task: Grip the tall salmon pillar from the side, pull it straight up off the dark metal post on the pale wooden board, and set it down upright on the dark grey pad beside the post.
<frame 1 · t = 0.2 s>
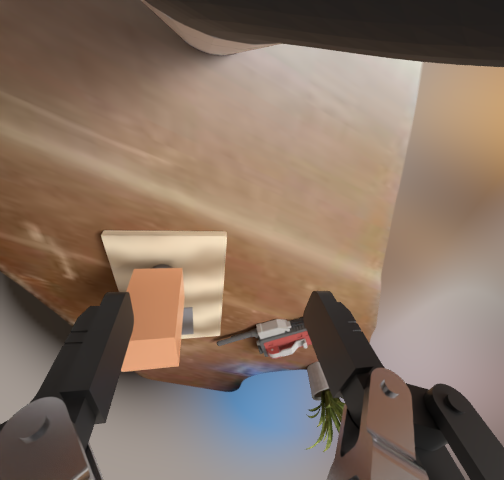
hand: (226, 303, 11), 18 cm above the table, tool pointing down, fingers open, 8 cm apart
walkie-talkie: (270, 330, 46), on the table
post stand: (174, 291, 35), on the table
house plant: (312, 367, 59), on the table
tall salmon pillar: (161, 284, 29), point 3 cm above the table, touching post stand
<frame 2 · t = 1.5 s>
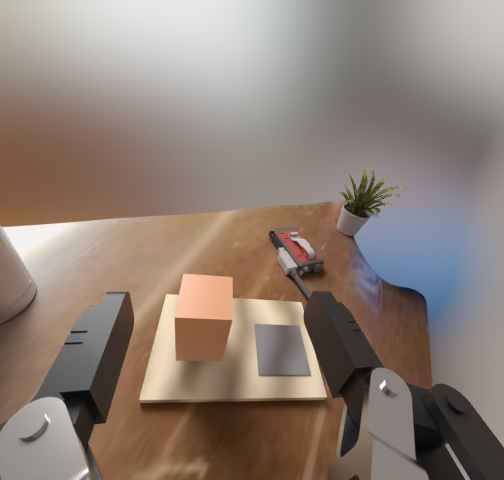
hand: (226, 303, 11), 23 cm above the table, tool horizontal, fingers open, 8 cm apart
walkie-talkie: (297, 266, 49), on the table
post stand: (237, 343, 33), on the table
house plant: (350, 233, 62), on the table
tall salmon pillar: (201, 338, 30), point 3 cm above the table, touching post stand
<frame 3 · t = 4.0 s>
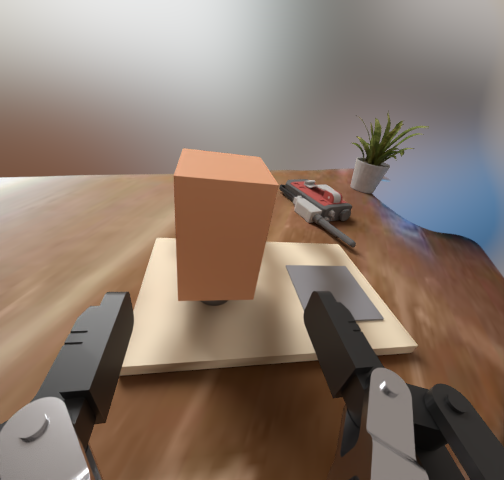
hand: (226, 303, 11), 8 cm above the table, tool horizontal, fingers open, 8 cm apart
walkie-talkie: (319, 217, 40), on the table
post stand: (265, 291, 23), on the table
house plant: (367, 191, 54), on the table
tall salmon pillar: (215, 274, 19), point 3 cm above the table, touching post stand
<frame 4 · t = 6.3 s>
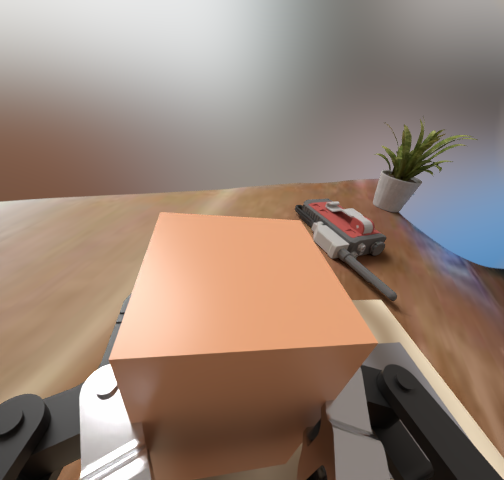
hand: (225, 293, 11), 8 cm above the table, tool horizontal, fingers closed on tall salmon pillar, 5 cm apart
walkie-talkie: (344, 248, 33), on the table
post stand: (292, 396, 15), on the table
house plant: (392, 209, 47), on the table
tall salmon pillar: (220, 400, 12), point 3 cm above the table, touching gripper, post stand
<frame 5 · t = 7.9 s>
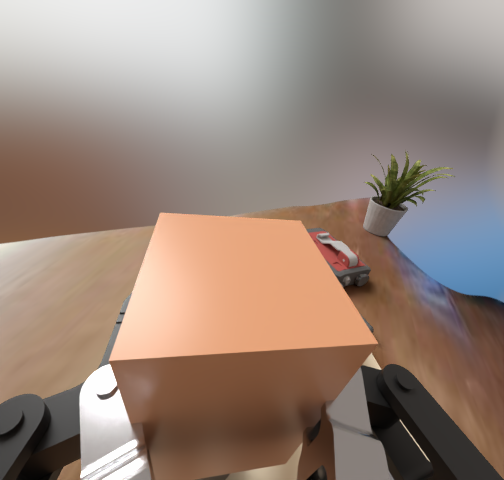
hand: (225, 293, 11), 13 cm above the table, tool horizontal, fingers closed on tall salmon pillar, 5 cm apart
walkie-talkie: (332, 278, 36), on the table
post stand: (278, 431, 18), on the table
house plant: (381, 233, 50), on the table
tall salmon pillar: (220, 400, 12), point 8 cm above the table, touching gripper
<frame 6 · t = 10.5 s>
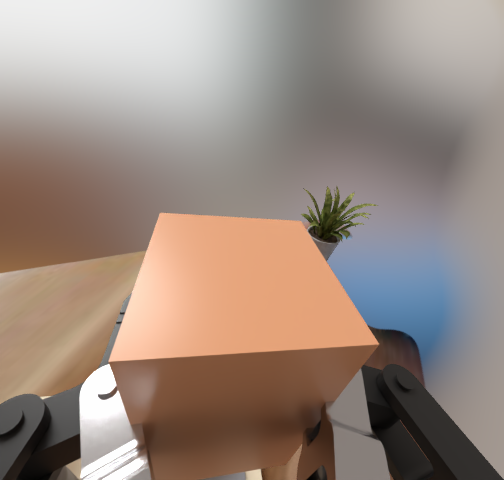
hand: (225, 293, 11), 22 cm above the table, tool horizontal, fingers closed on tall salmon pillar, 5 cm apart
post stand: (135, 478, 21), on the table
house plant: (320, 260, 52), on the table
tall salmon pillar: (220, 401, 12), point 17 cm above the table, touching gripper
when the fingers open (8 cm above the table, at t = 12.8 s): tall salmon pillar drops 1 cm, resting on post stand.
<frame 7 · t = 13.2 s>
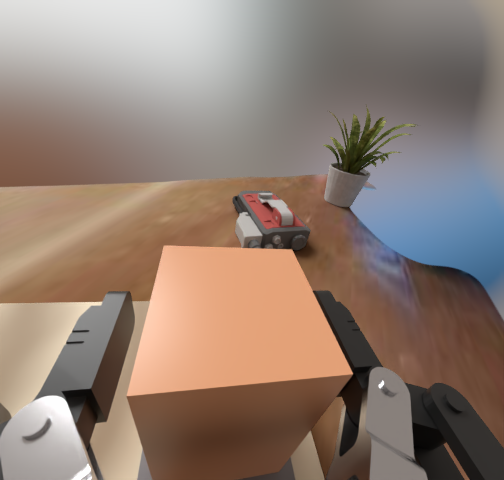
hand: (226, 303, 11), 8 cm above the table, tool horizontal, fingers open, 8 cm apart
walkie-talkie: (269, 241, 31), on the table
post stand: (103, 414, 13), on the table
house plant: (344, 204, 44), on the table
tall salmon pillar: (218, 412, 13), point 1 cm above the table, touching post stand
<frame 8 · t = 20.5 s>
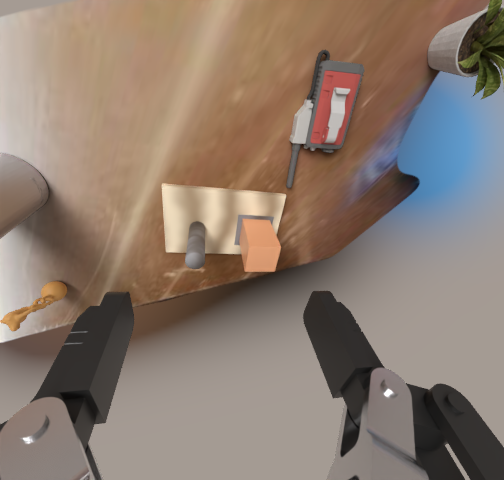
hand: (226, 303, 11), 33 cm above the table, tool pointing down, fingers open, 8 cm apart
walkie-talkie: (315, 128, 39), on the table
post stand: (223, 222, 46), on the table
house plant: (443, 57, 36), on the table
figurine: (56, 280, 48), on the table
tall salmon pillar: (254, 231, 47), point 1 cm above the table, touching post stand
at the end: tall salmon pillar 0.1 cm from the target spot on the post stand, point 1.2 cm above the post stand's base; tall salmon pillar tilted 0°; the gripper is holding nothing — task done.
